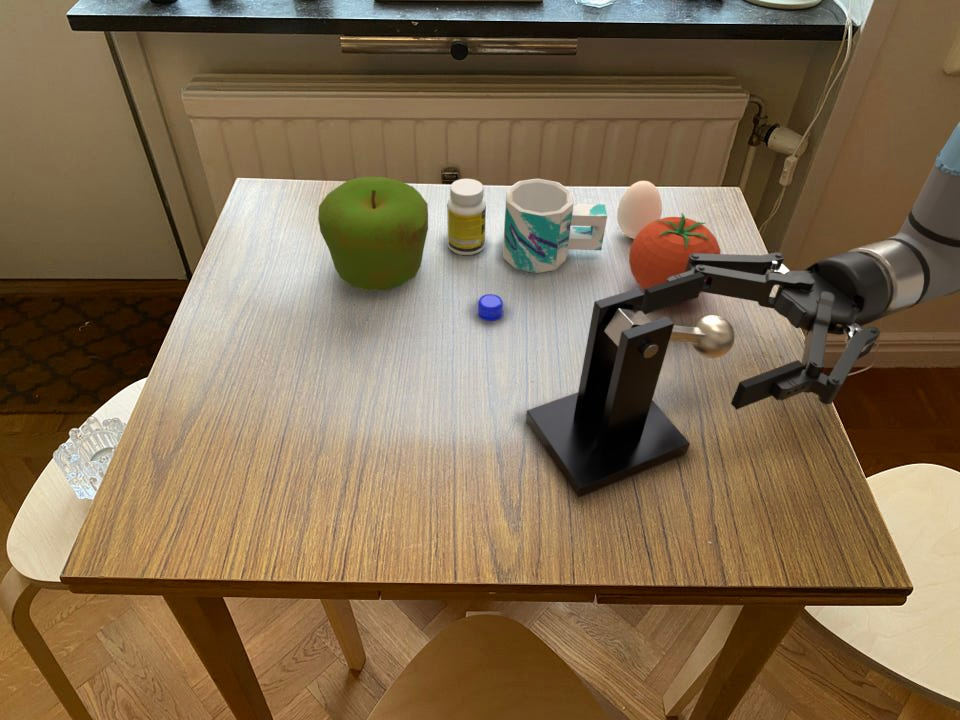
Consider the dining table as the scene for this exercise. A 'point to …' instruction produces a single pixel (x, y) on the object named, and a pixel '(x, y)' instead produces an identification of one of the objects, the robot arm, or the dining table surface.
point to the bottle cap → (490, 307)
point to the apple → (374, 231)
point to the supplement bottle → (466, 217)
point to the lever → (681, 332)
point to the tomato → (668, 249)
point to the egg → (638, 208)
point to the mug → (548, 225)
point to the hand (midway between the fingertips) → (687, 345)
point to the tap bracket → (612, 405)
